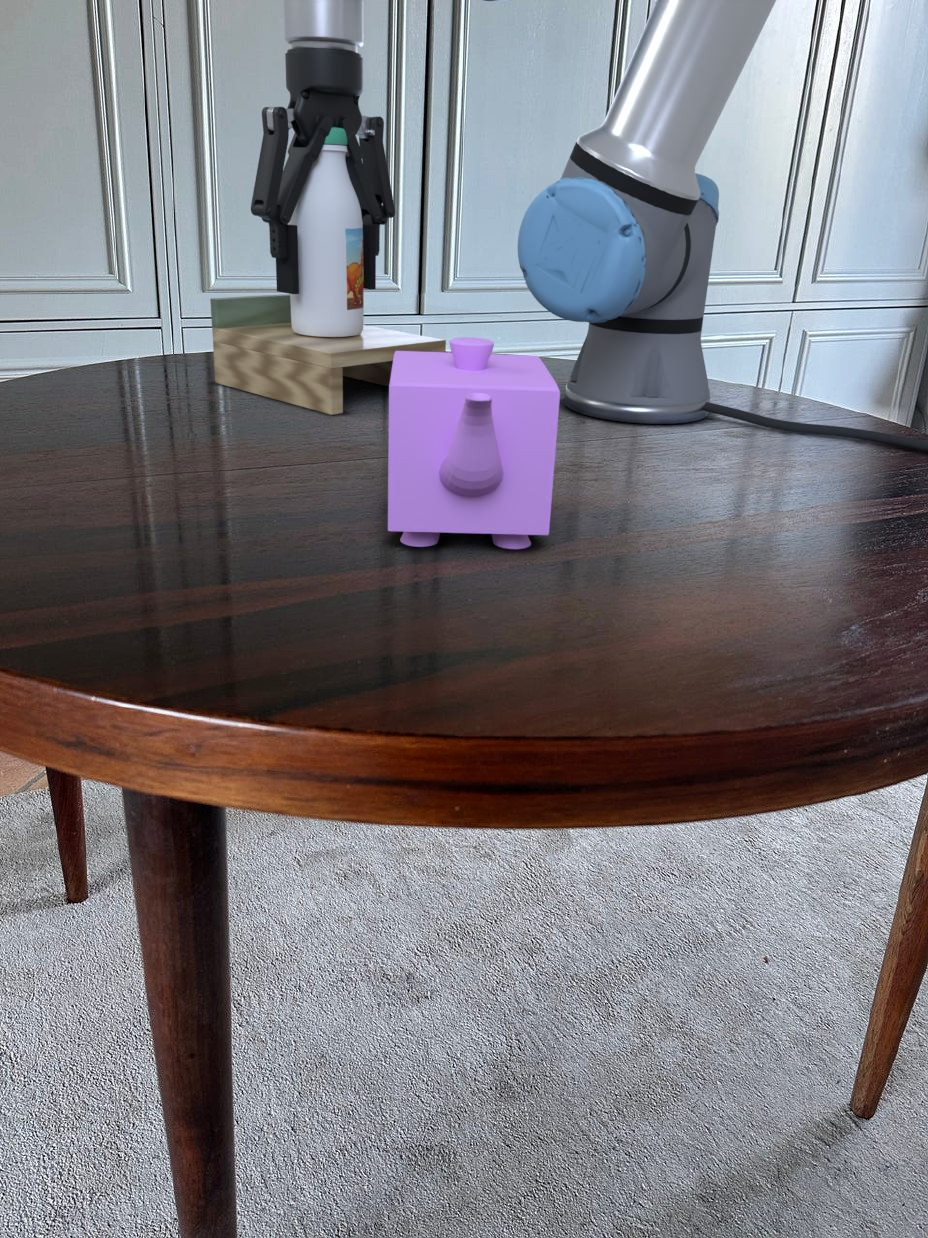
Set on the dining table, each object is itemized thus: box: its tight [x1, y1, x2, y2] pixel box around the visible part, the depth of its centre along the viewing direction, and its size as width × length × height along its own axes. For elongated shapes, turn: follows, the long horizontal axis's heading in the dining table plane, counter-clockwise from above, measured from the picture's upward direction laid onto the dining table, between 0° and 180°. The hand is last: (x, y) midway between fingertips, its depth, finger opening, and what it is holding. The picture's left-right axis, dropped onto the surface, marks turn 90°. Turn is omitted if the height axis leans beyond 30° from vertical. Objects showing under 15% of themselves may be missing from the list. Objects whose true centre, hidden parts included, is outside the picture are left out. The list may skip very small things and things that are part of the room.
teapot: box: [387, 336, 561, 550], centre depth 64 cm, size 20×10×12 cm, turn 2°
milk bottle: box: [288, 127, 365, 337], centre depth 103 cm, size 8×8×20 cm
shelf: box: [209, 293, 447, 416], centre depth 107 cm, size 20×16×9 cm
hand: (327, 290), depth 105 cm, fingers open, 10 cm apart
